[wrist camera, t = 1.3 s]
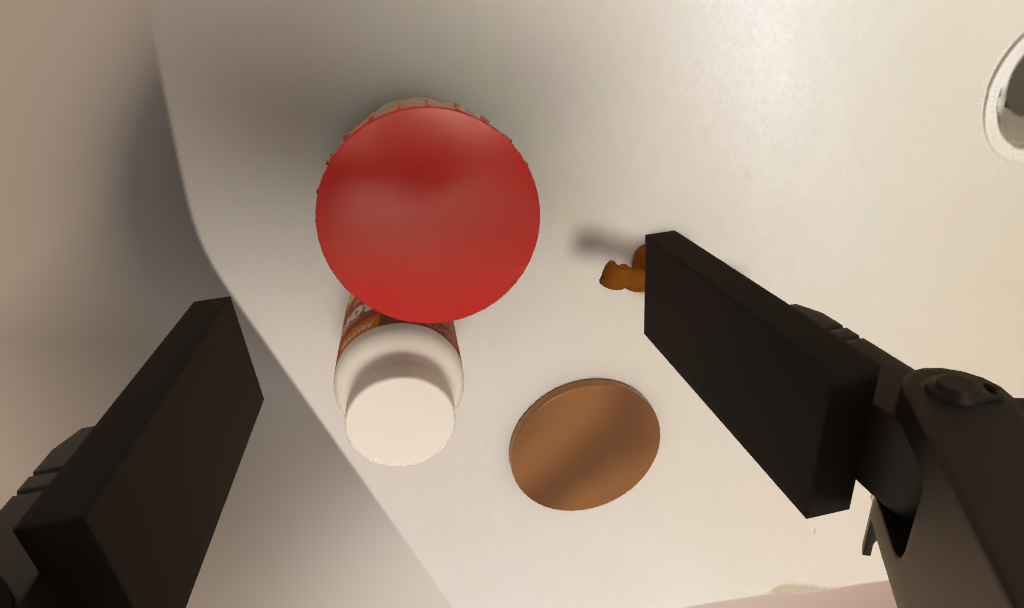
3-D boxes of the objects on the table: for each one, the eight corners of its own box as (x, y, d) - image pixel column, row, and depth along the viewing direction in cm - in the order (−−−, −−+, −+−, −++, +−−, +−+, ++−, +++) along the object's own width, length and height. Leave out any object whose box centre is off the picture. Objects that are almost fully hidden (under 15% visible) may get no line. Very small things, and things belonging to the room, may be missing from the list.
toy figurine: (561, 267, 35) (597, 314, 29) (583, 211, 34) (625, 247, 27) (721, 310, 38) (783, 360, 32) (746, 260, 37) (815, 302, 31)
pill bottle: (366, 250, 32) (354, 341, 22) (466, 286, 34) (496, 384, 24) (331, 342, 34) (305, 463, 24) (428, 370, 36) (440, 494, 26)
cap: (294, 263, 22) (284, 285, 20) (362, 60, 20) (359, 61, 18) (480, 325, 25) (488, 349, 23) (561, 152, 23) (578, 163, 21)
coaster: (484, 486, 41) (486, 494, 40) (551, 359, 37) (554, 365, 37) (611, 515, 44) (615, 523, 44) (682, 402, 41) (688, 408, 40)
